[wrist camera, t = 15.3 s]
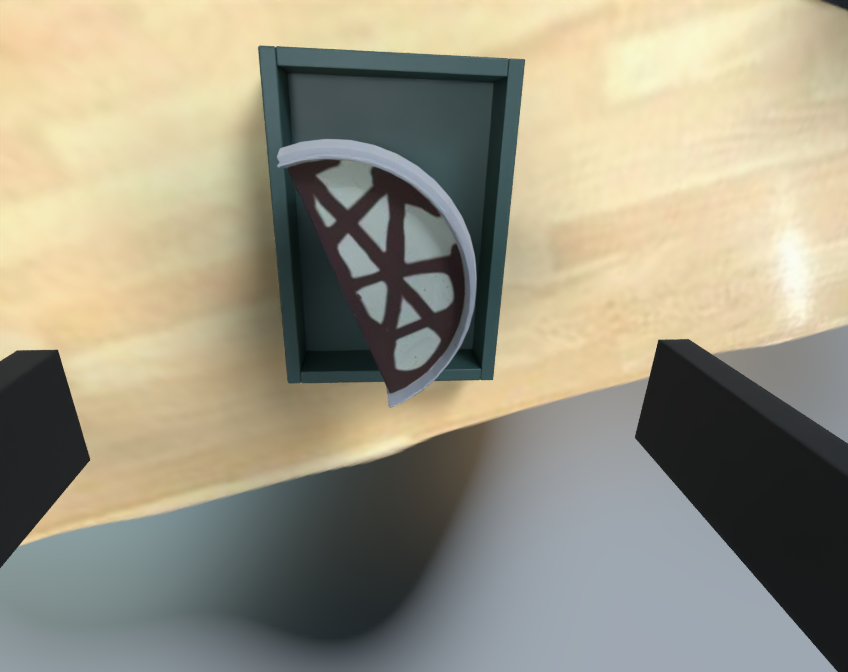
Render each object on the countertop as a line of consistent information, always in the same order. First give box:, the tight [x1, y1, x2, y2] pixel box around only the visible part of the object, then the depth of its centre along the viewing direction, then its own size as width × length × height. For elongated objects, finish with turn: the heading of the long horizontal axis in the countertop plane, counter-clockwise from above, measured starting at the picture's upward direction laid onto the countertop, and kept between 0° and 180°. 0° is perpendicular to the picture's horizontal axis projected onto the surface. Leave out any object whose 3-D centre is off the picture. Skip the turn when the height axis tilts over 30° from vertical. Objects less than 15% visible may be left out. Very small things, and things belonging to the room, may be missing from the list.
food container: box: [277, 139, 477, 408], centre depth 24 cm, size 12×6×10 cm, turn 20°
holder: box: [258, 46, 525, 383], centre depth 28 cm, size 13×18×4 cm
